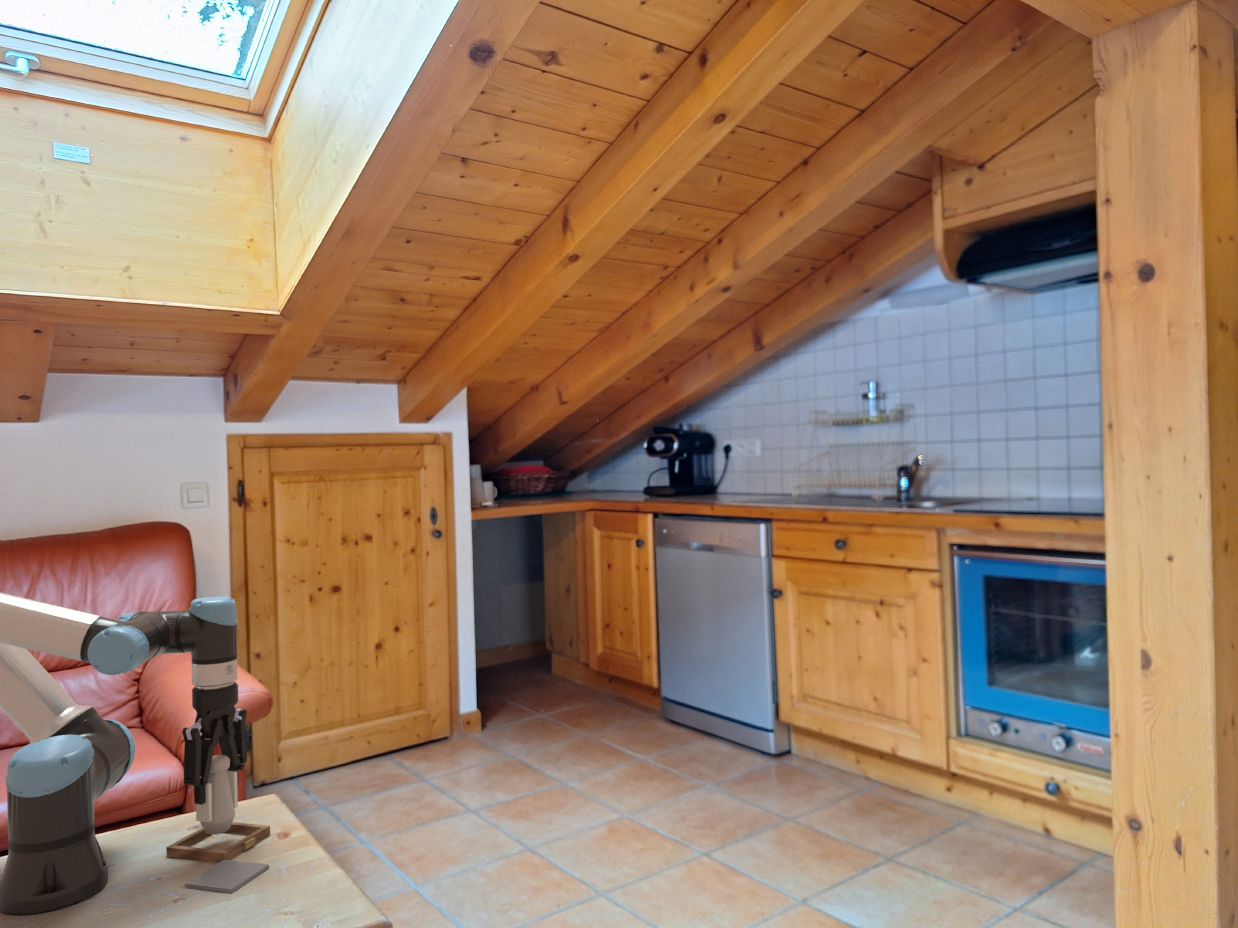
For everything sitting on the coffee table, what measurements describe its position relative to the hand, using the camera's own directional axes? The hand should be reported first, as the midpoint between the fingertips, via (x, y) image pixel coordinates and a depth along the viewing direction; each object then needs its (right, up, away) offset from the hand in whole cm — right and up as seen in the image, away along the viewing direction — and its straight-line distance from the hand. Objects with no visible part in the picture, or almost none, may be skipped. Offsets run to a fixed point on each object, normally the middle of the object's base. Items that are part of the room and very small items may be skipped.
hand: (217, 813), depth 158 cm
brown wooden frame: (0, -6, 0) cm, 6 cm away
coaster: (+8, -5, -13) cm, 16 cm away
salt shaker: (0, -3, 0) cm, 3 cm away
